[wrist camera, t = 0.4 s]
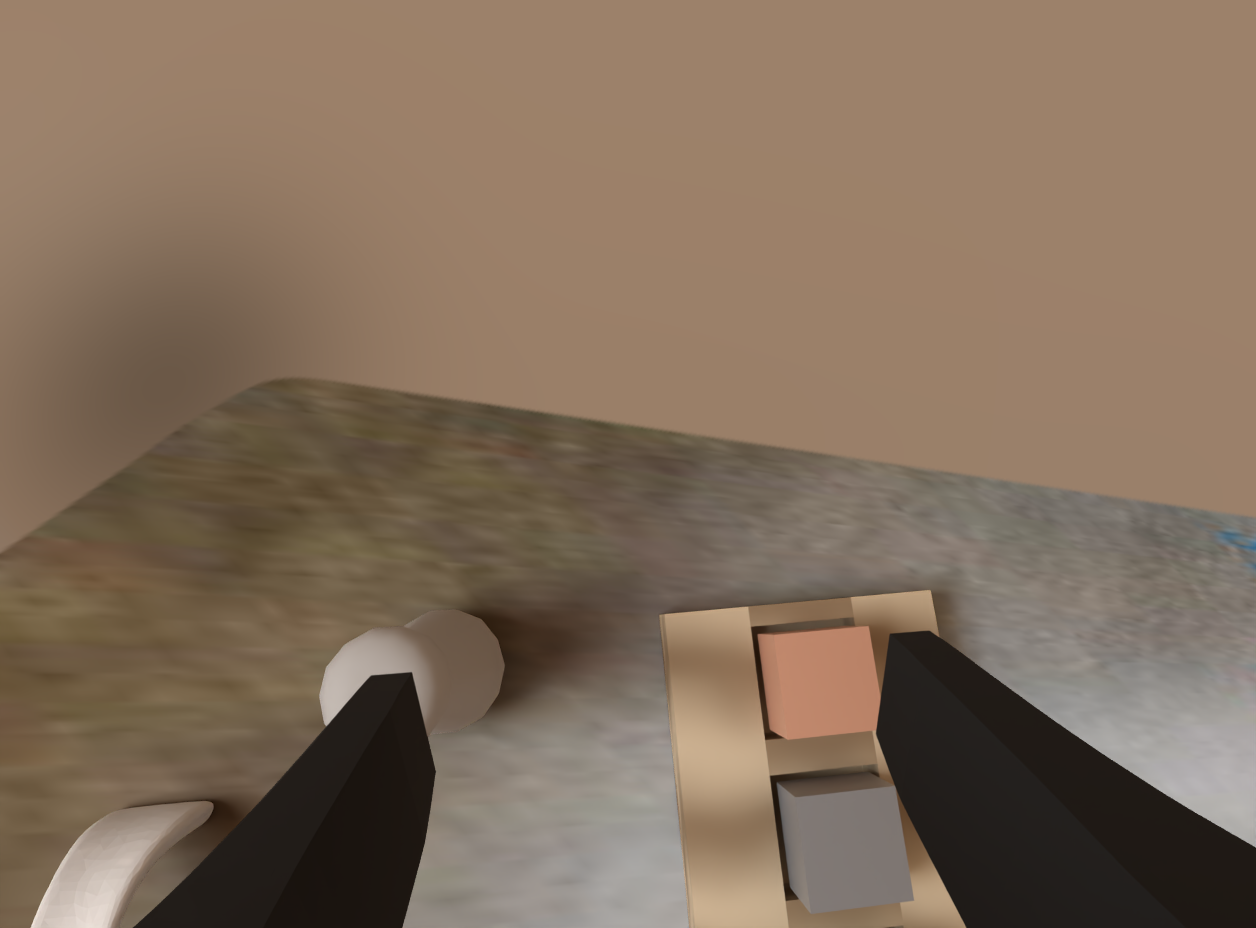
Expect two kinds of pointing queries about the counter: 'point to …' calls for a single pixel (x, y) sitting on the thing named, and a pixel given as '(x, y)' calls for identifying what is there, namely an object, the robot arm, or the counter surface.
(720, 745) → the tan wooden slotted tray
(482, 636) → the salt shaker
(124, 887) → the light grey curved piece
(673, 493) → the counter surface
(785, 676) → the key terracotta
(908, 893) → the key slate
